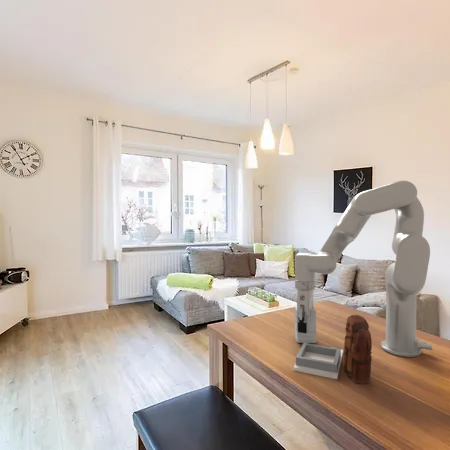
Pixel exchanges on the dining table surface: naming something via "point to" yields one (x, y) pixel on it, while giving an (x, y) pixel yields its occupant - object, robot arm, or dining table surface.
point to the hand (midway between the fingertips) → (304, 328)
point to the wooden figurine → (357, 349)
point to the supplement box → (311, 328)
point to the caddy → (319, 360)
